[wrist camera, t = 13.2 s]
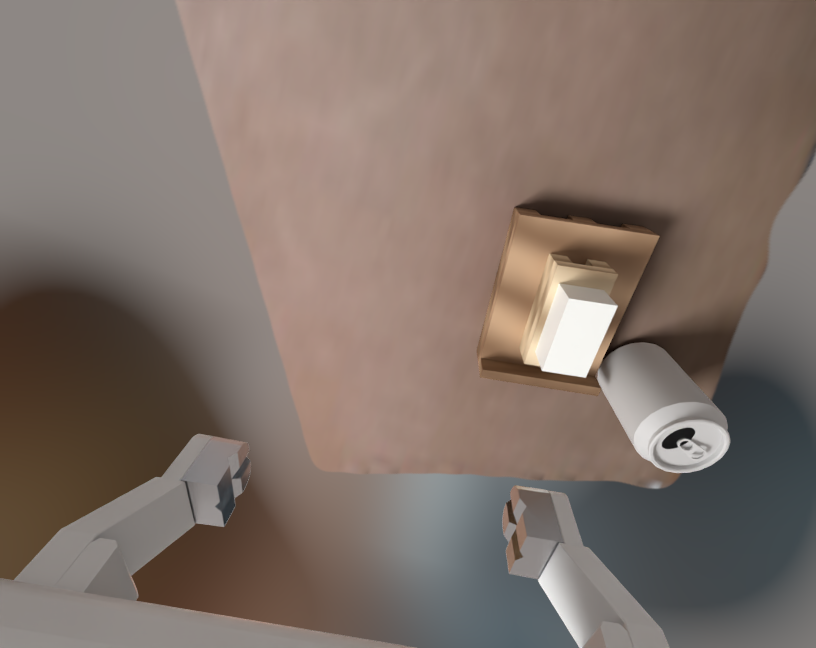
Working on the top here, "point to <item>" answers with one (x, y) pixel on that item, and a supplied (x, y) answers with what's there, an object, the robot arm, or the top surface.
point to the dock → (522, 277)
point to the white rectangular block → (574, 329)
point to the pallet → (553, 274)
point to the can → (663, 409)
